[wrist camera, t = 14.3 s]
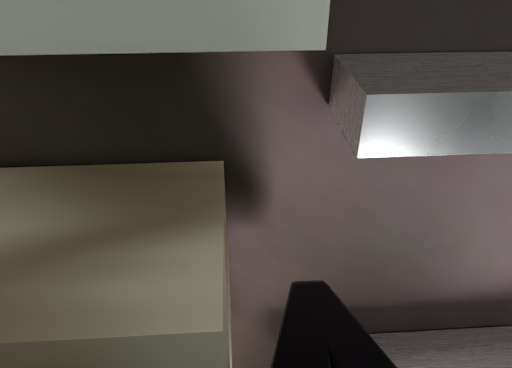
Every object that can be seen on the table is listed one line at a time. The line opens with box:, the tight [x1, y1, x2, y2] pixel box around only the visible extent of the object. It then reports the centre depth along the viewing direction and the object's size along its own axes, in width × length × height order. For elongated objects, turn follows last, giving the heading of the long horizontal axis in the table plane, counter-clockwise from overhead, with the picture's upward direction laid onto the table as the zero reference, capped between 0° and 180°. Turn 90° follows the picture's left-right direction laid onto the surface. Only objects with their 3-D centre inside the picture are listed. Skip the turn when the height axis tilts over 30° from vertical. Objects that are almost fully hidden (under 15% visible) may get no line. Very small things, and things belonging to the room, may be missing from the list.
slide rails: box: [329, 51, 512, 368], centre depth 9 cm, size 18×9×2 cm, turn 90°
